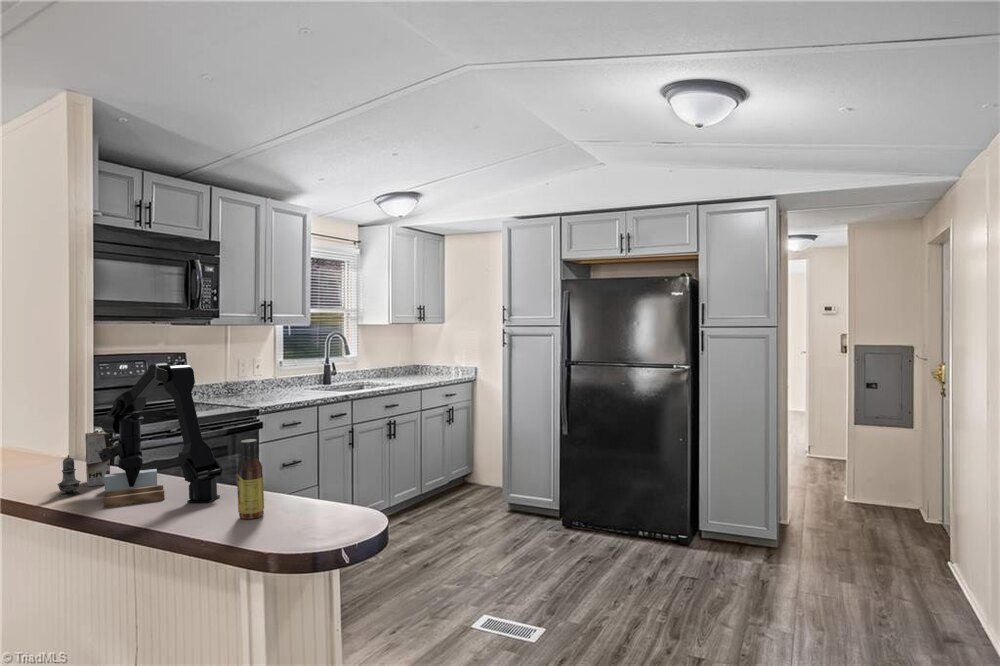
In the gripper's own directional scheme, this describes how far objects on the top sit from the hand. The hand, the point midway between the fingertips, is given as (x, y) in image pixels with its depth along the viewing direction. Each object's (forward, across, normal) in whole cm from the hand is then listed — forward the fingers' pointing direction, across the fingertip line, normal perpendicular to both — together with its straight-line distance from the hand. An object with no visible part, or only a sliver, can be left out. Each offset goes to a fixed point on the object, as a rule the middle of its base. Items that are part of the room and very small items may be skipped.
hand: (131, 485), depth 200 cm
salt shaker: (+1, -3, -16) cm, 17 cm away
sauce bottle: (+1, +54, +27) cm, 60 cm away
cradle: (+1, +16, +1) cm, 16 cm away
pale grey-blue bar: (+1, 0, 0) cm, 1 cm away
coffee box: (+1, -16, -9) cm, 19 cm away
